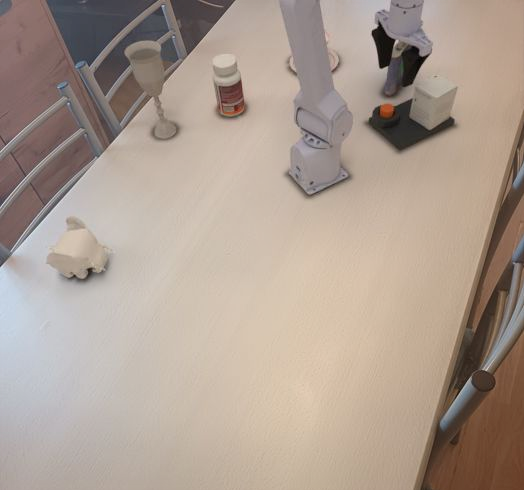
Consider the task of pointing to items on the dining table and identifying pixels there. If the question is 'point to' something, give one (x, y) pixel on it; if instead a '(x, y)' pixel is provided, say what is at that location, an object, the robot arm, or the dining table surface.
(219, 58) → the pill bottle
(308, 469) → the dining table surface
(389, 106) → the button
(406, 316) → the dining table surface
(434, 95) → the product box
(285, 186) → the dining table surface
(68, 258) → the elephant figurine
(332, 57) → the teacup
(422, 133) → the scale
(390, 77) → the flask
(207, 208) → the dining table surface
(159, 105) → the chalice
